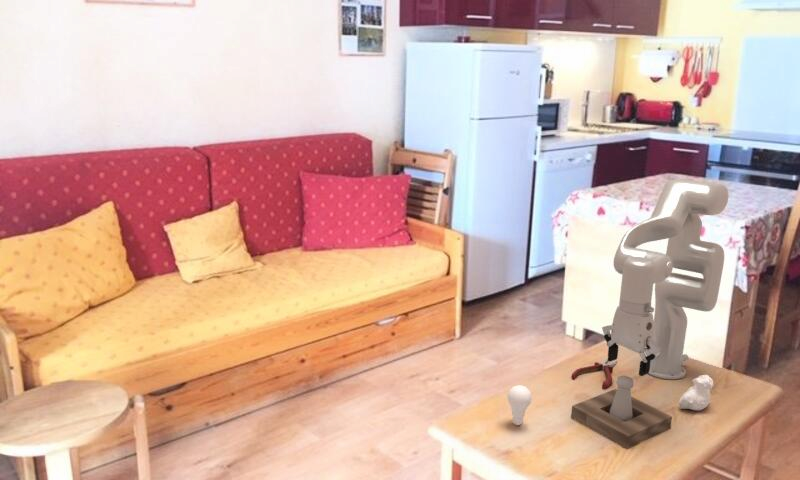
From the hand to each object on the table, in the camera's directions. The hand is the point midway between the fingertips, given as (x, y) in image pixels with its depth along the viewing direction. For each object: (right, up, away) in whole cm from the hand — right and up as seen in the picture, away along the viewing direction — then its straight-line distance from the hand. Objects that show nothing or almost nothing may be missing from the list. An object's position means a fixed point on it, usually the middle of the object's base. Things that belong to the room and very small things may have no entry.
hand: (627, 367), depth 177 cm
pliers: (+3, -9, +31) cm, 32 cm away
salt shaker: (-1, -16, +4) cm, 16 cm away
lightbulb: (-28, -16, +1) cm, 32 cm away
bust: (+23, -14, +13) cm, 30 cm away
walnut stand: (-1, -15, +4) cm, 16 cm away
